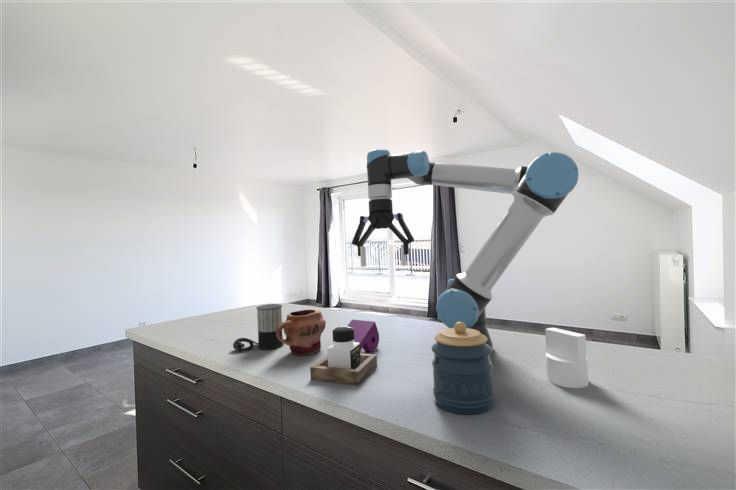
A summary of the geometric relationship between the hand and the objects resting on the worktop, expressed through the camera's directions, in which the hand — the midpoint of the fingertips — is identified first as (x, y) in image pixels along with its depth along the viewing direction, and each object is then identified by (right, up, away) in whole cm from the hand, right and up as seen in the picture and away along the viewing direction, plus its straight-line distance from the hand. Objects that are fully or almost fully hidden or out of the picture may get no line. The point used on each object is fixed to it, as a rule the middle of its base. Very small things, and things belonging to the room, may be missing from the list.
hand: (383, 266), depth 109 cm
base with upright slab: (+44, -27, -25) cm, 57 cm away
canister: (+16, -28, -33) cm, 47 cm away
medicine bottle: (-11, -29, -13) cm, 34 cm away
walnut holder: (-11, -29, -13) cm, 34 cm away
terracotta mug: (-27, -30, +7) cm, 41 cm away
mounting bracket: (-10, -30, +4) cm, 31 cm away
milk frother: (-45, -31, +15) cm, 56 cm away
